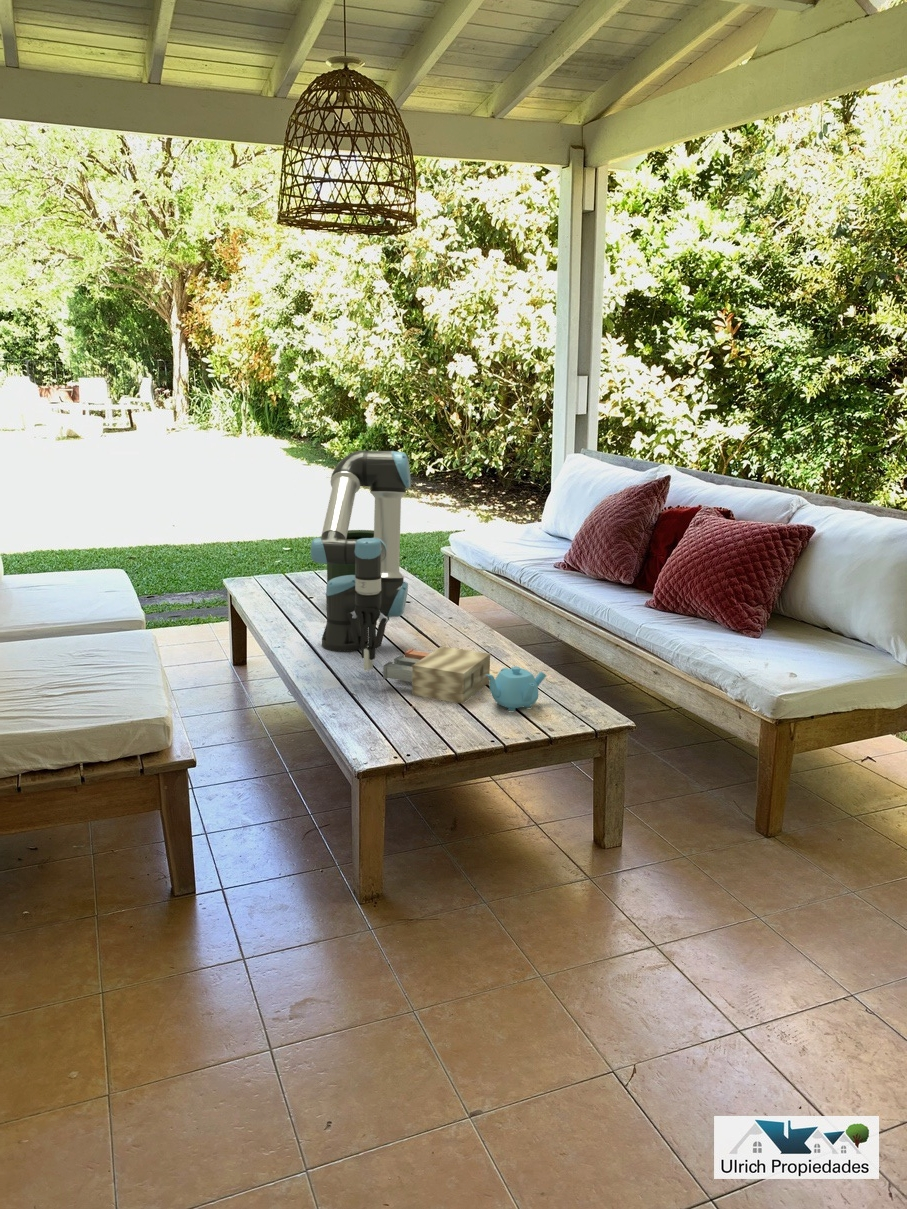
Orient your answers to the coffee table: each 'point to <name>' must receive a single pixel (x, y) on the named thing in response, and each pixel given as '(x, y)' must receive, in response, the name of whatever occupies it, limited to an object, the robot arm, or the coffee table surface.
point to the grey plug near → (397, 672)
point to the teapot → (515, 687)
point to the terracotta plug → (415, 654)
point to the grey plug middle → (405, 661)
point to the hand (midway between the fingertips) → (368, 669)
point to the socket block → (450, 674)
